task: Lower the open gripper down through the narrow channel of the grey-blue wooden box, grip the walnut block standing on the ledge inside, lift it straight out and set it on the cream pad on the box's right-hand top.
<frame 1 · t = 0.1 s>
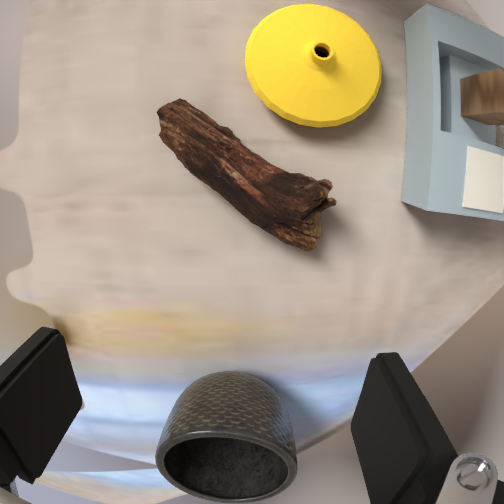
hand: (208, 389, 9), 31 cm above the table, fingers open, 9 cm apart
yellow piece: (311, 68, 34), on the table
walnut block: (475, 102, 30), point 4 cm above the table, touching slot box
slot box: (458, 118, 34), on the table
planter: (233, 391, 47), on the table
driftwood: (249, 166, 37), on the table
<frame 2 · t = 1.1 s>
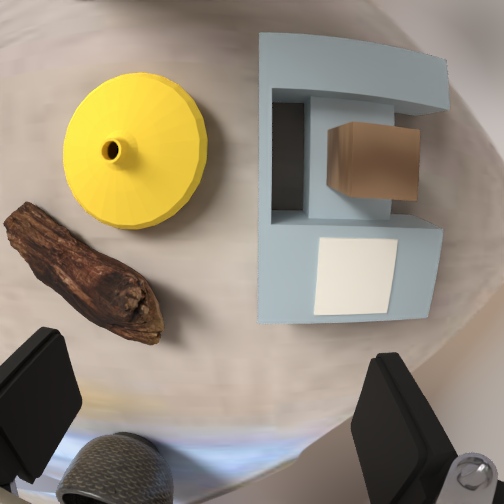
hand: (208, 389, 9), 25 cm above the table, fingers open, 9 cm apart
yellow piece: (139, 150, 31), on the table
walnut block: (353, 159, 27), point 4 cm above the table, touching slot box
slot box: (342, 177, 31), on the table
planter: (135, 447, 45), on the table
driftwood: (95, 258, 35), on the table
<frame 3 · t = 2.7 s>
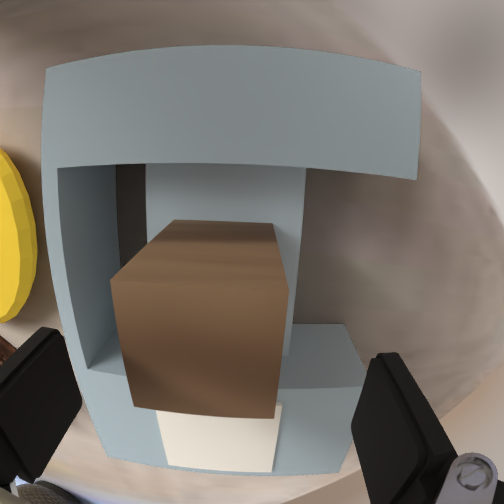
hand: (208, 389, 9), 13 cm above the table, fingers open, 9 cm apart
walnut block: (221, 267, 17), point 4 cm above the table, touching slot box
slot box: (226, 275, 21), on the table
planter: (60, 494, 34), on the table
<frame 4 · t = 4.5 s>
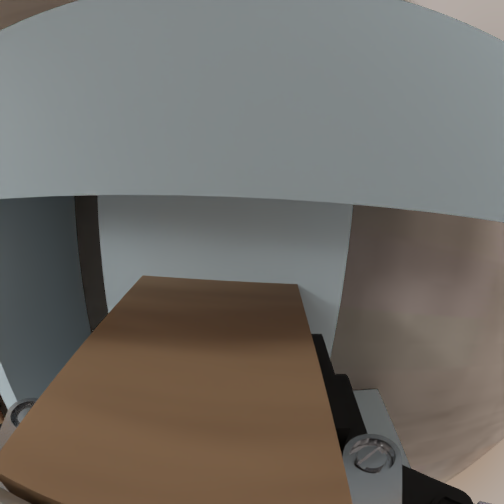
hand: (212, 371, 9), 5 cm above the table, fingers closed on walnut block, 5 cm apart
walnut block: (217, 346, 11), point 4 cm above the table, touching gripper, slot box
slot box: (227, 335, 15), on the table
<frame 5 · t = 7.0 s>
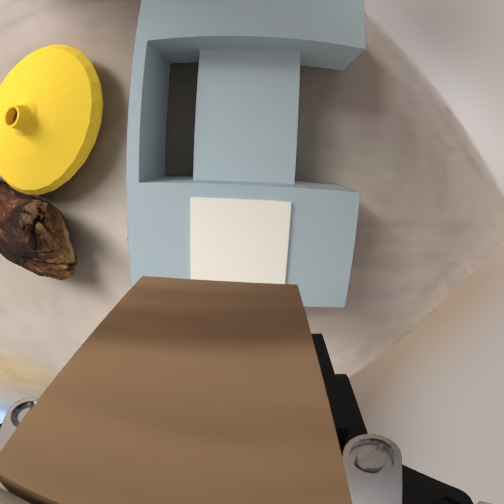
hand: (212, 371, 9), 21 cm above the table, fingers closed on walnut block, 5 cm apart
yellow piece: (53, 119, 27), on the table, touching driftwood
walnut block: (217, 347, 11), point 20 cm above the table, touching gripper
slot box: (247, 139, 28), on the table
driftwood: (20, 201, 30), on the table, touching yellow piece
when the fingers open (10 cm above the table, at t = 9.5 s): walnut block drops 1 cm, resting on slot box.
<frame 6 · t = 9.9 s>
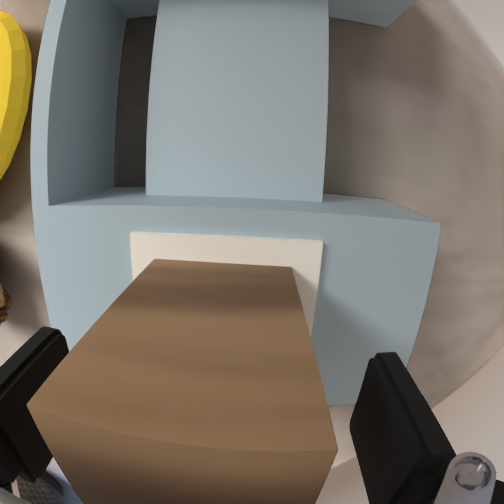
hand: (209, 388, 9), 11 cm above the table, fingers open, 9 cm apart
walnut block: (220, 324, 12), point 7 cm above the table, touching slot box
slot box: (240, 126, 17), on the table
planter: (37, 474, 30), on the table
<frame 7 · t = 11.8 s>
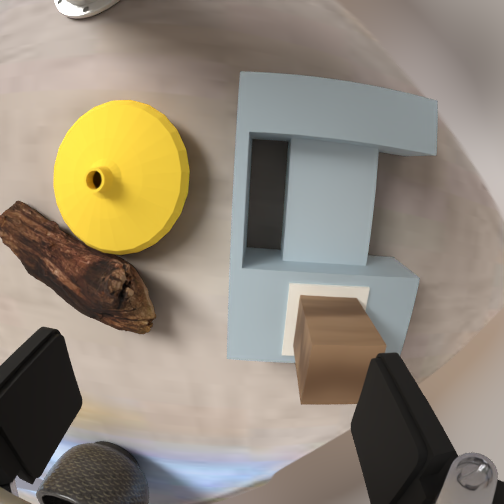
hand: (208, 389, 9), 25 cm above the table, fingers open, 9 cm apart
yellow piece: (126, 176, 32), on the table
walnut block: (324, 322, 27), point 7 cm above the table, touching slot box
slot box: (322, 218, 32), on the table
planter: (115, 456, 44), on the table
driftwood: (85, 251, 35), on the table
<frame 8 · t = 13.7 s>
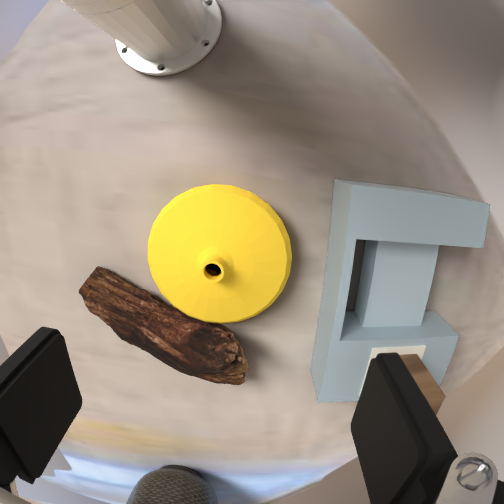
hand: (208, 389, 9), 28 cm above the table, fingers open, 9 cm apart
yellow piece: (221, 250, 37), on the table
walnut block: (392, 372, 33), point 7 cm above the table, touching slot box
slot box: (387, 286, 38), on the table
planter: (181, 475, 51), on the table
driftwood: (175, 313, 40), on the table
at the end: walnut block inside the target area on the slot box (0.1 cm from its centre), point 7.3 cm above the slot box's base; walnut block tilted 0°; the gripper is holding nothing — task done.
